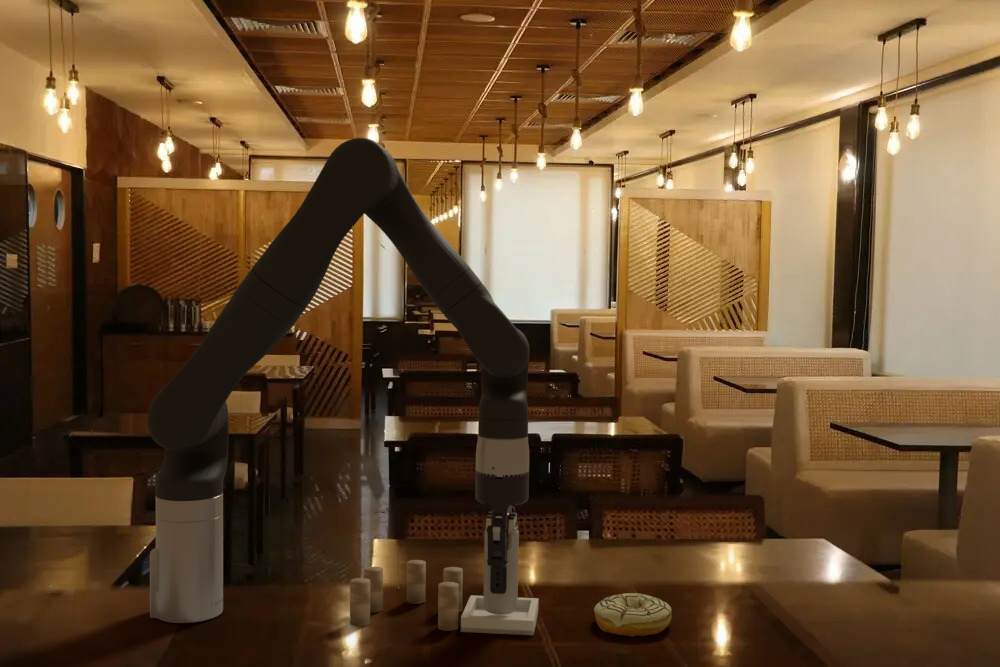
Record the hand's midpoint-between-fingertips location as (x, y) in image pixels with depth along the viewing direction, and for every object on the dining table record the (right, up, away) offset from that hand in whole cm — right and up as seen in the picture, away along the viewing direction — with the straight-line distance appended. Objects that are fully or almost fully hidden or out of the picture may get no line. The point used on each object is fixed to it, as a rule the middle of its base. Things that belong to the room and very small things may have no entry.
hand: (500, 586), depth 144 cm
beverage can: (0, -4, 0) cm, 4 cm away
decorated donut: (+19, -6, -1) cm, 19 cm away
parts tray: (0, -5, 0) cm, 5 cm away
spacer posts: (-13, -5, +3) cm, 14 cm away
